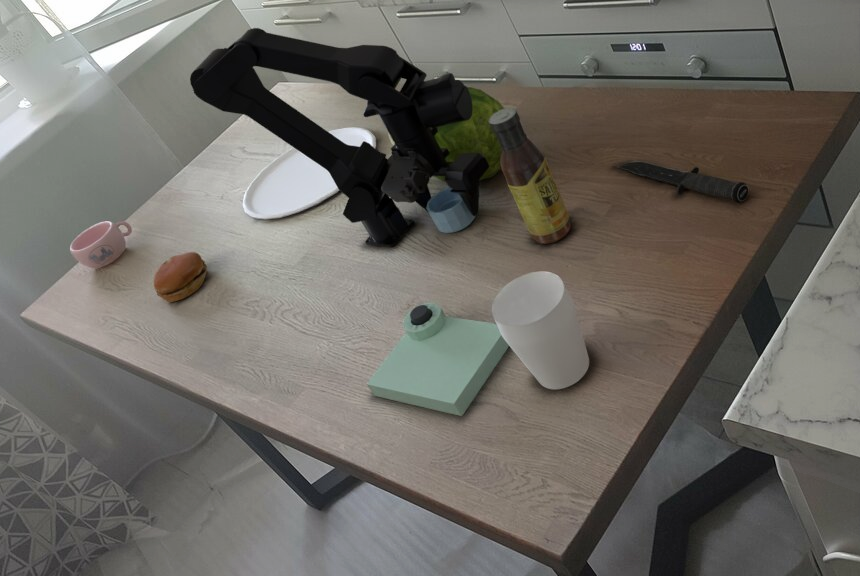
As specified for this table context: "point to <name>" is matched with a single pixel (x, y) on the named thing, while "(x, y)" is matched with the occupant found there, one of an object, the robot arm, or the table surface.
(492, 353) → the scale
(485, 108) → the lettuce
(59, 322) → the table surface
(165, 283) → the burger
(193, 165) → the table surface
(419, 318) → the tare button
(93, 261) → the mug
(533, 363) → the cup
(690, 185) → the knife
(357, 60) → the robot arm
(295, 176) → the plate
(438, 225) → the bowl
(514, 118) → the sauce bottle
